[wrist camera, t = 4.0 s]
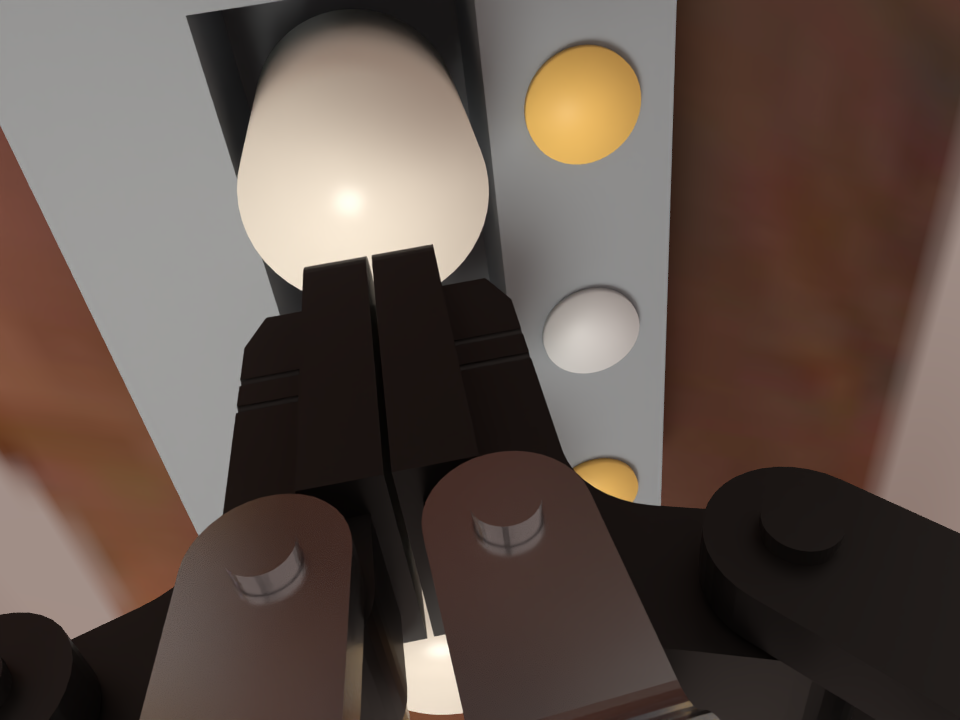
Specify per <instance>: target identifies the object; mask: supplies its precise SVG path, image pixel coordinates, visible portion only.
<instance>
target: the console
mask: <svg viewBox="0 0 960 720" xmlns="http://www.w3.org/2000/svg"><path fill="white" fill-rule="evenodd" d="M676 4H677V0H0V126H1V128H2V130H3V132H4V134H5V136H6V138H7V140H8V142H9V144H10V146H11V148H12V150H13V153H14V155H15V157H16V159H17V161H18V163H19V165H20V167H21V169H22V171H23V173H24V175H25V177H26V179H27V181H28V184H29V186H30V188H31V190H32V192H33V194H34V196H35V198H36V200H37V202H38V204H39V206H40V208H41V210H42V213H43V215H44V217H45V219H46V221H47V223H48V225H49V227H50V229H51V231H52V233H53V235H54V237H55V239H56V242H57V244H58V246H59V248H60V250H61V252H62V254H63V256H64V258H65V260H66V262H67V264H68V266H69V268H70V270H71V273H72V275H73V277H74V279H75V281H76V283H77V285H78V287H79V289H80V291H81V293H82V295H83V297H84V299H85V302H86V304H87V306H88V308H89V310H90V312H91V314H92V316H93V318H94V320H95V322H96V324H97V326H98V328H99V331H100V333H101V335H102V337H103V339H104V341H105V343H106V345H107V347H108V349H109V351H110V353H111V355H112V357H113V360H114V362H115V364H116V366H117V368H118V370H119V372H120V374H121V376H122V378H123V380H124V382H125V384H126V386H127V388H128V391H129V393H130V395H131V397H132V399H133V401H134V403H135V405H136V407H137V409H138V411H139V413H140V415H141V417H142V420H143V422H144V424H145V426H146V428H147V430H148V432H149V434H150V436H151V438H152V440H153V442H154V444H155V446H156V449H157V451H158V453H159V455H160V457H161V459H162V461H163V463H164V465H165V467H166V469H167V471H168V473H169V475H170V477H171V480H172V482H173V484H174V486H175V488H176V490H177V492H178V494H179V496H180V498H181V500H182V502H183V504H184V506H185V509H186V511H187V513H188V515H189V517H190V519H191V521H192V523H193V525H194V527H195V529H196V531H197V533H198V535H200V534H201V533H202V532H203V531H204V530H205V529H206V528H207V527H208V526H209V525H210V524H211V523H213V522H214V521H215V520H217V519H218V518H219V517H220V516H222V515H223V509H224V501H225V493H226V485H227V478H228V470H229V462H230V454H231V447H232V439H233V431H234V423H235V416H236V413H238V409H237V400H238V392H239V386H241V381H240V377H241V369H242V361H243V354H244V348H245V346H246V345H247V344H248V342H249V341H250V339H251V338H252V337H253V335H254V334H255V332H256V331H257V330H258V328H259V327H260V325H261V324H262V323H263V321H264V320H265V319H266V318H267V317H273V316H278V315H284V314H289V313H295V312H300V311H302V290H300V289H298V288H296V287H295V286H293V285H292V284H290V283H288V282H287V281H286V280H284V279H283V278H282V277H281V276H279V275H278V274H277V273H276V272H275V271H274V270H273V269H272V268H271V267H270V266H269V265H268V264H267V263H266V262H265V261H264V260H263V259H262V257H261V256H260V255H259V253H258V252H257V251H256V249H255V248H254V246H253V244H252V242H251V240H250V239H249V237H248V235H247V232H246V230H245V227H244V225H243V222H242V219H241V215H240V211H239V207H238V197H237V179H238V171H239V166H240V161H241V157H242V152H243V148H244V143H245V138H246V134H247V129H248V125H249V120H250V116H251V111H252V107H253V102H254V97H255V93H256V88H257V84H258V79H259V76H260V73H261V71H262V68H263V65H264V64H265V62H266V60H267V58H268V56H269V54H270V53H271V51H272V50H273V49H274V47H275V46H276V44H277V43H278V42H279V41H280V40H281V39H282V38H283V37H284V36H285V35H286V34H287V33H288V32H289V31H291V30H292V29H293V28H295V27H296V26H297V25H299V24H301V23H302V22H304V21H306V20H308V19H310V18H312V17H315V16H317V15H320V14H322V13H326V12H331V11H335V10H343V9H364V10H370V11H375V12H380V13H383V14H386V15H389V16H392V17H394V18H396V19H398V20H400V21H402V22H404V23H406V24H408V25H409V26H411V27H412V28H414V29H415V30H417V31H418V32H419V33H420V34H421V35H422V36H424V37H425V38H426V39H427V40H428V41H429V42H430V43H431V44H432V46H433V47H434V48H435V49H436V50H437V52H438V53H439V55H440V56H441V58H442V59H443V61H444V62H445V64H446V66H447V68H448V70H449V72H450V75H451V77H452V80H453V82H454V85H455V87H456V90H457V92H458V95H459V97H460V100H461V102H462V105H463V107H464V110H465V112H466V115H467V117H468V120H469V122H470V125H471V127H472V130H473V132H474V135H475V137H476V140H477V142H478V145H479V147H480V150H481V153H482V156H483V159H484V162H485V165H486V170H487V175H488V185H489V199H488V209H487V214H486V218H485V222H484V225H483V228H482V230H481V233H480V235H479V238H478V240H477V241H476V243H475V245H474V247H473V249H472V250H471V252H470V253H469V254H468V256H467V257H466V259H465V260H464V261H463V262H462V263H461V264H460V266H459V267H458V268H457V269H456V270H455V271H454V272H453V273H452V274H450V275H449V276H448V277H447V278H446V279H444V280H443V281H442V282H441V283H442V286H443V285H449V284H454V283H460V282H465V281H471V280H477V279H482V278H486V279H487V280H488V281H490V282H491V283H492V284H493V285H495V286H496V287H497V288H498V289H499V290H501V291H502V292H503V293H504V294H506V295H507V296H508V297H509V298H511V300H512V303H513V305H514V308H515V311H516V314H517V317H518V320H519V323H520V326H521V331H522V334H523V335H524V338H525V341H526V344H527V347H528V350H529V354H530V358H531V359H532V362H533V365H534V368H535V371H536V373H537V376H538V379H539V382H540V385H541V388H542V391H543V394H544V397H545V400H546V403H547V406H548V409H549V412H550V415H551V418H552V421H553V424H554V427H555V430H556V433H557V436H558V439H559V441H560V444H561V447H562V450H563V453H564V455H565V457H566V459H567V461H568V462H569V464H570V465H571V467H572V468H573V469H574V471H575V472H576V473H577V474H578V475H579V476H580V477H581V478H582V479H584V480H585V481H586V482H588V483H589V484H591V485H592V486H593V487H595V488H597V489H599V490H601V491H602V492H604V493H606V494H608V495H611V496H614V497H616V498H619V499H622V500H626V501H630V502H634V503H639V504H647V505H655V506H661V478H662V447H663V415H664V383H665V352H666V320H667V288H668V257H669V225H670V194H671V162H672V130H673V99H674V67H675V35H676Z"/></svg>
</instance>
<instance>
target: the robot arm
mask: <svg viewBox="0 0 960 720" xmlns="http://www.w3.org/2000/svg"><path fill="white" fill-rule="evenodd" d="M372 269H373V276H372V272H371V268H370V265H369V261H368V258H367V256H364V257H359V258H353V259H347V260H342V261H336V262H330V263H325V264H319V265H313V266H308V267H304V269H303V286H302V311H300V312H295V313H289V314H284V315H278V316H273V317H267V318H266V319H265V320H264V321H263V323H262V324H261V325H260V327H259V328H258V330H257V331H256V332H255V334H254V335H253V337H252V338H251V339H250V341H249V342H248V344H247V345H246V346H245V348H244V354H243V361H242V369H241V377H240V381H241V386H239V392H238V400H237V409H238V413H236V416H235V423H234V431H233V439H232V447H231V454H230V462H229V470H228V478H227V485H226V493H225V501H224V509H223V515H222V516H220V517H219V518H218V519H217V520H215V521H214V522H213V523H211V524H210V525H209V526H208V527H207V528H206V529H205V530H204V531H203V532H202V533H201V534H200V535H199V536H198V537H197V538H196V540H195V541H194V542H193V543H192V545H191V546H190V547H189V549H188V551H187V553H186V554H185V556H184V558H183V560H182V563H181V566H180V568H179V571H178V575H177V578H176V582H175V586H174V587H173V588H172V589H170V590H169V591H167V592H166V593H164V594H163V595H161V596H160V597H158V598H157V599H155V600H153V601H151V602H149V603H147V604H145V605H143V606H142V607H140V608H137V609H135V610H133V611H131V612H129V613H127V614H125V615H123V616H120V617H118V618H116V619H114V620H112V621H110V622H108V623H106V624H103V625H101V626H99V627H97V628H95V629H93V630H91V631H89V632H86V633H85V634H82V635H80V636H78V637H76V638H74V639H72V640H71V639H70V638H69V637H68V635H67V634H66V633H65V631H64V630H63V629H62V627H61V626H59V625H58V624H57V623H56V622H54V621H53V620H51V619H49V618H47V617H44V616H42V615H38V614H33V613H9V614H2V615H0V720H410V716H409V711H408V708H407V679H406V668H405V657H404V646H403V643H408V642H413V641H418V640H422V639H427V630H426V621H425V613H424V604H423V596H422V591H423V595H424V599H425V603H426V607H427V611H428V615H429V619H430V622H431V626H432V630H433V634H434V637H435V636H440V635H446V639H447V644H448V648H449V653H450V657H451V661H452V666H453V670H454V675H455V679H456V683H457V688H458V692H459V697H460V701H461V705H462V710H463V714H464V719H465V720H960V533H958V532H956V531H953V530H951V529H949V528H947V527H944V526H942V525H940V524H938V523H936V522H933V521H931V520H929V519H927V518H925V517H922V516H920V515H918V514H916V513H914V512H911V511H909V510H907V509H905V508H902V507H900V506H898V505H896V504H894V503H891V502H889V501H887V500H885V499H883V498H880V497H878V496H876V495H874V494H872V493H869V492H867V491H865V490H863V489H861V488H858V487H856V486H854V485H852V484H849V483H847V482H845V481H843V480H841V479H838V478H835V477H833V476H830V475H828V474H825V473H821V472H817V471H813V470H809V469H802V468H795V467H771V468H762V469H758V470H754V471H750V472H747V473H744V474H742V475H739V476H737V477H735V478H733V479H731V480H730V481H728V482H727V483H725V484H724V485H723V486H722V487H720V488H719V489H718V490H717V491H716V492H715V493H714V495H713V496H712V498H711V499H710V501H709V502H708V504H707V507H706V509H697V508H683V507H669V506H655V505H647V504H639V503H634V502H630V501H626V500H622V499H619V498H616V497H614V496H611V495H608V494H606V493H604V492H602V491H601V490H599V489H597V488H595V487H593V486H592V485H591V484H589V483H588V482H586V481H585V480H584V479H582V478H581V477H580V476H579V475H578V474H577V473H576V472H575V471H574V469H573V468H572V467H571V465H570V464H569V462H568V461H567V459H566V457H565V455H564V453H563V450H562V447H561V444H560V441H559V439H558V436H557V433H556V430H555V427H554V424H553V421H552V418H551V415H550V412H549V409H548V406H547V403H546V400H545V397H544V394H543V391H542V388H541V385H540V382H539V379H538V376H537V373H536V371H535V368H534V365H533V362H532V359H531V358H530V354H529V350H528V347H527V344H526V341H525V338H524V335H523V334H522V331H521V326H520V323H519V320H518V317H517V314H516V311H515V308H514V305H513V303H512V300H511V298H509V297H508V296H507V295H506V294H504V293H503V292H502V291H501V290H499V289H498V288H497V287H496V286H495V285H493V284H492V283H491V282H490V281H488V280H487V279H486V278H482V279H477V280H471V281H465V282H460V283H454V284H449V285H443V286H442V283H441V279H440V274H439V270H438V265H437V260H436V256H435V251H434V247H433V244H431V245H425V246H419V247H414V248H408V249H402V250H397V251H391V252H385V253H380V254H374V255H372ZM373 279H374V281H373Z"/></svg>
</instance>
